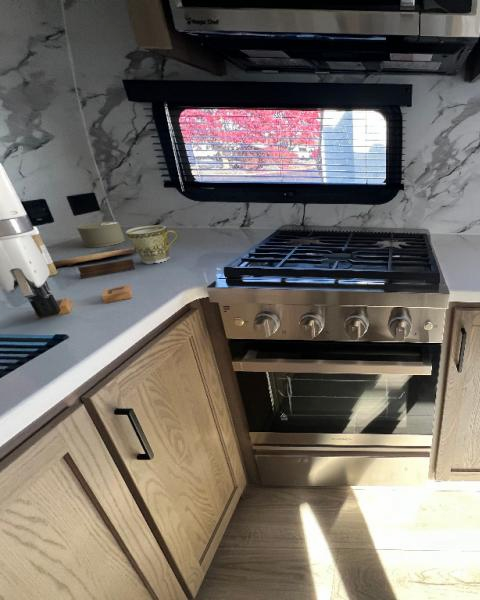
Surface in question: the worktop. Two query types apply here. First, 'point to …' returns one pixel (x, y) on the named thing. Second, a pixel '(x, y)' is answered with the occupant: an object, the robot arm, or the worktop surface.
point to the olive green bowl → (101, 234)
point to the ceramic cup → (151, 243)
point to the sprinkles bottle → (44, 252)
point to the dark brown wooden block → (106, 268)
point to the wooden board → (91, 257)
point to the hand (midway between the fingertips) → (50, 314)
